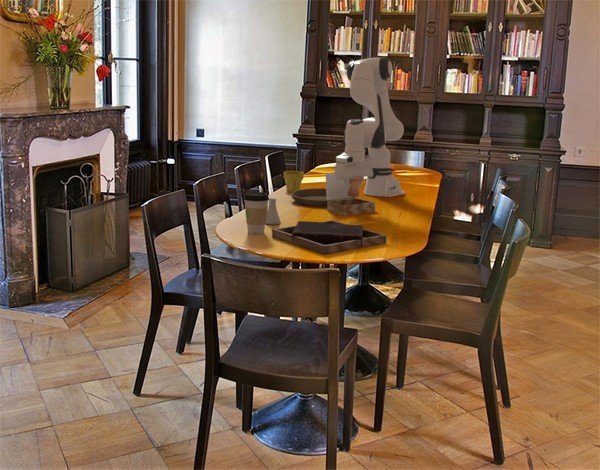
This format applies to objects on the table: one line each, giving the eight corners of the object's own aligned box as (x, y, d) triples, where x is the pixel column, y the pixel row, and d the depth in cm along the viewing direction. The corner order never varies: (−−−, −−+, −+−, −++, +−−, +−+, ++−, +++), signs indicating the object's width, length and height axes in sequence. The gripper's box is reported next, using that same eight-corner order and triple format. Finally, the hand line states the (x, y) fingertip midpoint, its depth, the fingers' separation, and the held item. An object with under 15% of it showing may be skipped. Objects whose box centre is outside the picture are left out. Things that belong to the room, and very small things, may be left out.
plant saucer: (309, 211, 300) (309, 201, 299) (279, 199, 326) (279, 189, 325) (367, 206, 314) (368, 197, 313) (334, 195, 341) (334, 186, 339)
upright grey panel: (356, 196, 308) (355, 196, 309) (355, 170, 307) (354, 170, 307) (327, 200, 297) (326, 200, 298) (326, 173, 296) (325, 173, 296)
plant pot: (300, 193, 343) (301, 174, 340) (281, 191, 345) (281, 173, 342) (304, 189, 352) (305, 171, 350) (285, 188, 354) (286, 170, 352)
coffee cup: (253, 228, 262) (254, 190, 259) (273, 232, 257) (274, 193, 254) (237, 232, 255) (238, 193, 251) (258, 236, 249) (258, 197, 246)
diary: (361, 249, 237) (362, 235, 236) (291, 245, 240) (292, 232, 239) (363, 236, 255) (363, 223, 254) (298, 232, 258) (298, 220, 257)
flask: (262, 221, 276) (263, 197, 273) (280, 221, 276) (280, 197, 274) (263, 225, 269) (263, 200, 266) (281, 225, 269) (282, 200, 267)
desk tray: (332, 227, 268) (332, 220, 267) (386, 243, 245) (386, 235, 245) (272, 236, 250) (272, 229, 249) (324, 254, 227) (324, 246, 226)
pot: (353, 193, 302) (354, 174, 300) (362, 195, 298) (363, 175, 296) (344, 195, 299) (344, 175, 296) (353, 197, 294) (353, 177, 292)
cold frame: (352, 206, 312) (353, 182, 309) (374, 212, 301) (376, 186, 298) (323, 210, 301) (324, 185, 298) (345, 216, 290) (346, 190, 287)
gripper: (366, 154, 303) (365, 184, 306) (332, 157, 290) (332, 189, 293) (376, 155, 298) (375, 186, 301) (342, 159, 285) (341, 191, 289)
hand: (353, 187), depth 297 cm, fingers closed on pot, 5 cm apart
